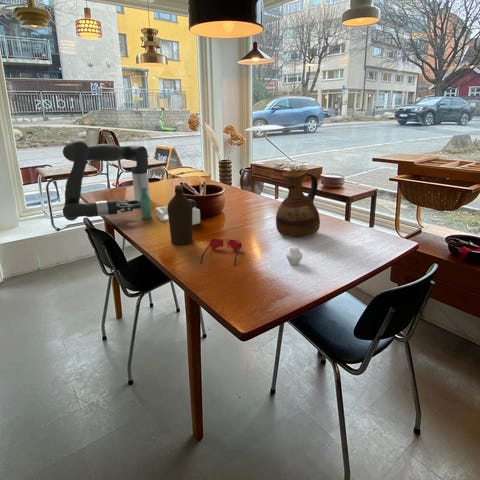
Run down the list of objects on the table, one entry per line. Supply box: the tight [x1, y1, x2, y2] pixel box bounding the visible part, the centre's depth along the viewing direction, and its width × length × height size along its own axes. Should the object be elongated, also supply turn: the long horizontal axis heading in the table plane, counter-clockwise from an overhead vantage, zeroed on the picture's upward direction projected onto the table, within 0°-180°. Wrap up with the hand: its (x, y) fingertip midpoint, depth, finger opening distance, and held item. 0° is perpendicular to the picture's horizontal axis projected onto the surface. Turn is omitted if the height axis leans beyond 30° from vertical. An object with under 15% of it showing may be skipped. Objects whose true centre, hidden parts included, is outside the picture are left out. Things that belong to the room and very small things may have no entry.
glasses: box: [199, 238, 243, 267], centre depth 147 cm, size 14×16×5 cm
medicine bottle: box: [187, 198, 201, 226], centre depth 186 cm, size 7×7×12 cm
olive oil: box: [167, 184, 194, 246], centre depth 159 cm, size 11×11×25 cm
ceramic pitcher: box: [275, 169, 321, 239], centre depth 167 cm, size 20×20×30 cm
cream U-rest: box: [155, 205, 169, 222], centre depth 197 cm, size 11×11×4 cm
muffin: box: [285, 246, 303, 266], centre depth 140 cm, size 6×6×7 cm
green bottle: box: [139, 187, 153, 220], centre depth 193 cm, size 5×5×16 cm
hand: (138, 204), depth 192 cm, fingers open, 8 cm apart
